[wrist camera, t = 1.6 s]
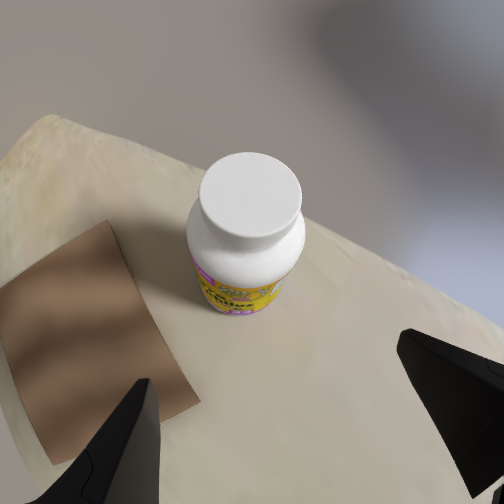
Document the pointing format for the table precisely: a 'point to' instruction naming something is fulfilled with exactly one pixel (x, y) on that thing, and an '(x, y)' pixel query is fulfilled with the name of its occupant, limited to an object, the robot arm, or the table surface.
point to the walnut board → (83, 343)
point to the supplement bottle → (245, 231)
